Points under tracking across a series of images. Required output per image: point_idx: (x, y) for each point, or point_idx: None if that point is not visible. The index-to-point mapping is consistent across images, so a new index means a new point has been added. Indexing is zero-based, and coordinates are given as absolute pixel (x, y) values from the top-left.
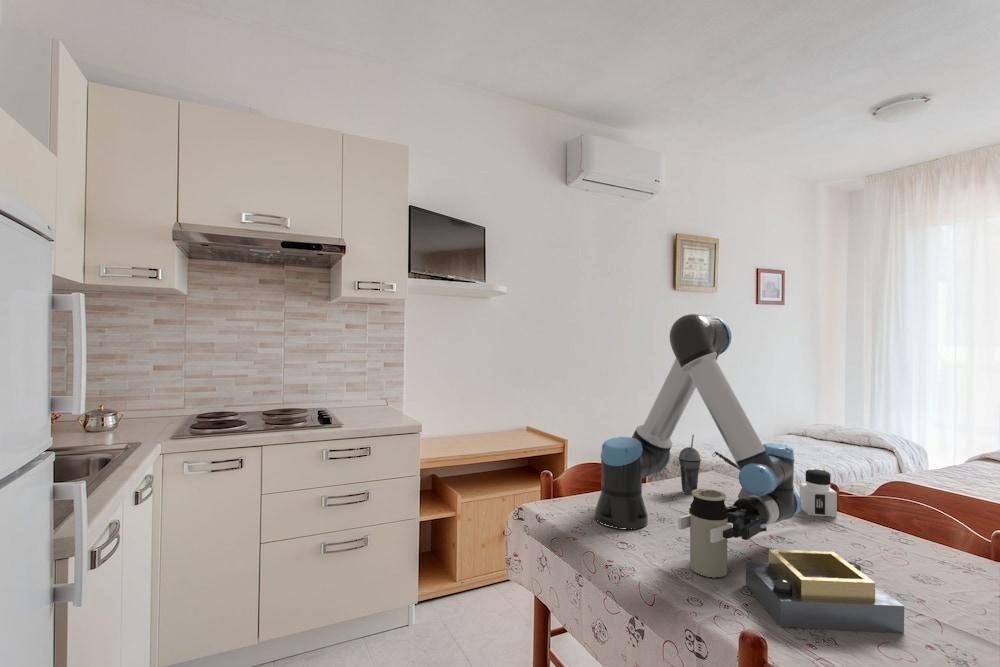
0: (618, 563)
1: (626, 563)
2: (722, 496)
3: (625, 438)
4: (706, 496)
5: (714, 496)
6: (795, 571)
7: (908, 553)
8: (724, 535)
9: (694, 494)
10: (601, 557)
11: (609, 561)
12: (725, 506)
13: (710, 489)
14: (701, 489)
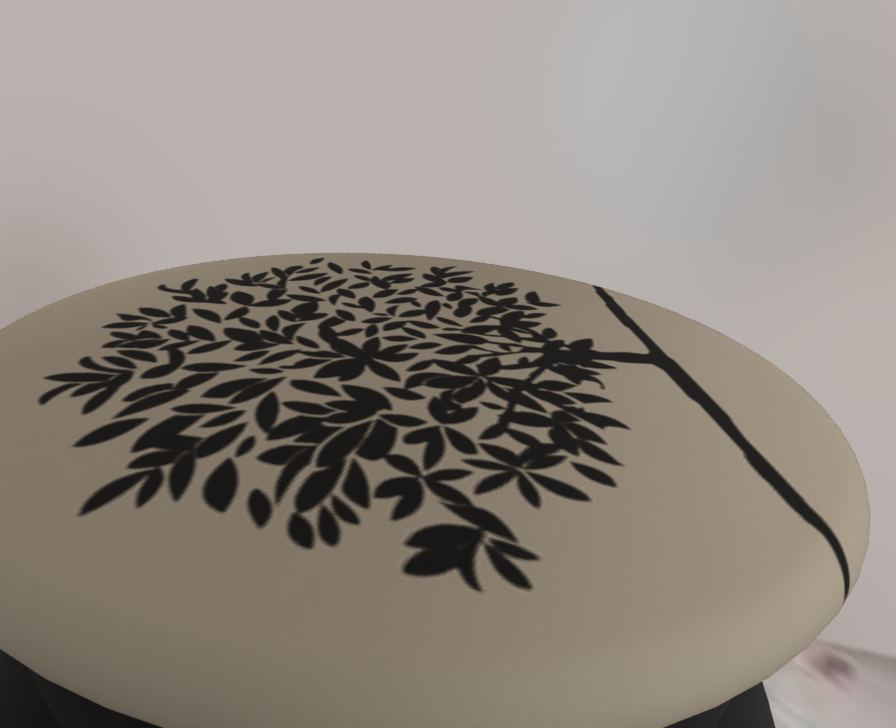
0: (787, 674)
1: (775, 706)
2: (49, 345)
3: None
4: (360, 271)
5: (235, 297)
6: None
7: None
8: None
9: (550, 275)
10: (890, 666)
11: (825, 659)
12: (2, 660)
13: (645, 605)
14: (763, 451)
